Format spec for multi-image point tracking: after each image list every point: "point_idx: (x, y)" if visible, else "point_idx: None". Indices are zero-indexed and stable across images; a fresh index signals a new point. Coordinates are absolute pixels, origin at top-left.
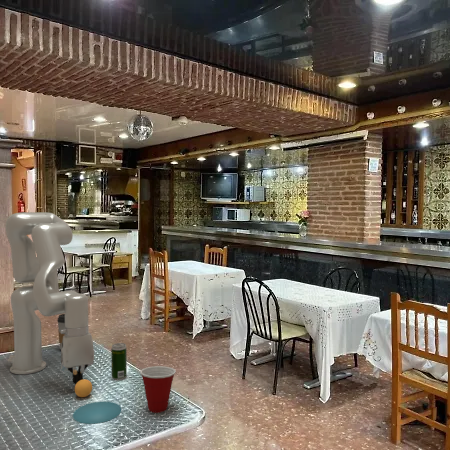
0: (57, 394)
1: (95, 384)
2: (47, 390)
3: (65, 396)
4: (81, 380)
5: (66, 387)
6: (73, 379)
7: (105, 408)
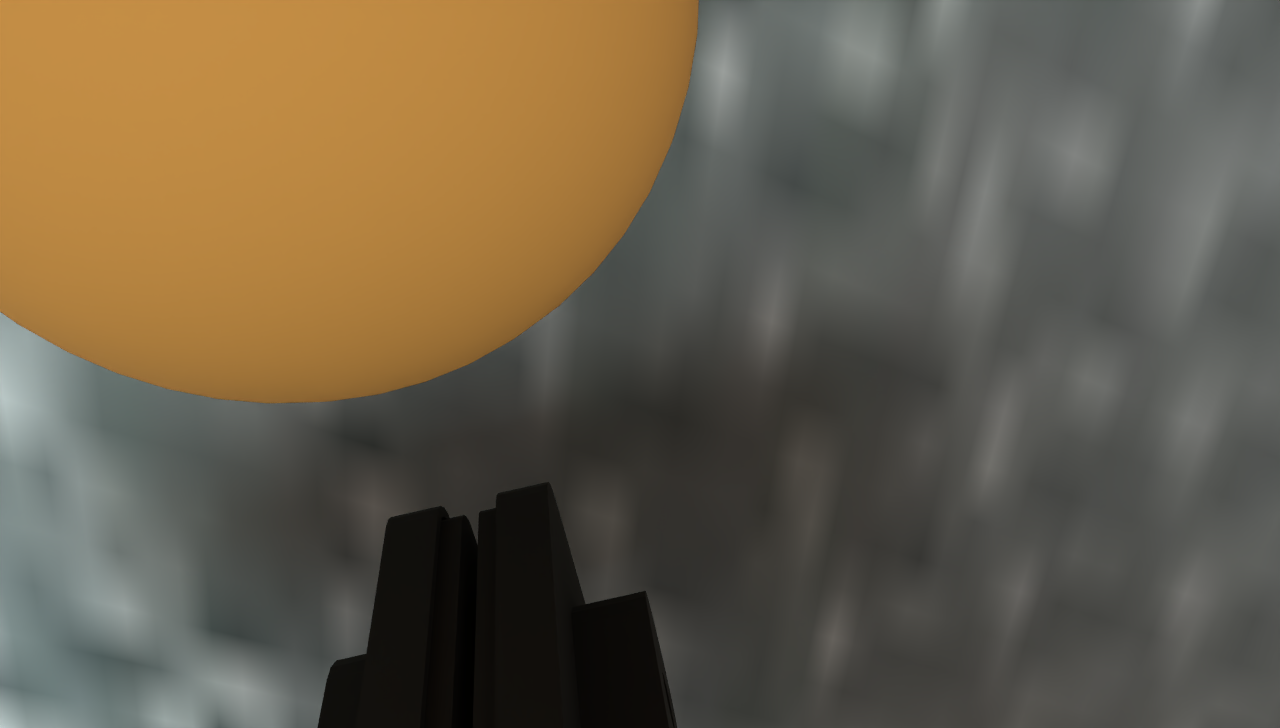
0: (1039, 401)
1: (27, 672)
2: (1164, 670)
3: (886, 195)
4: (319, 82)
5: (761, 699)
6: (669, 720)
7: None
